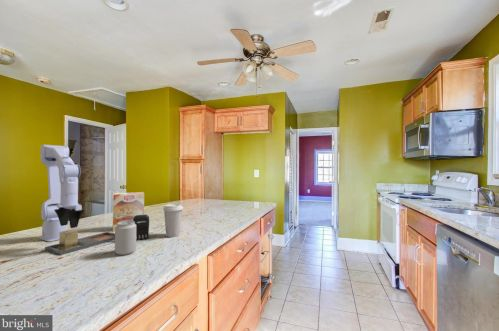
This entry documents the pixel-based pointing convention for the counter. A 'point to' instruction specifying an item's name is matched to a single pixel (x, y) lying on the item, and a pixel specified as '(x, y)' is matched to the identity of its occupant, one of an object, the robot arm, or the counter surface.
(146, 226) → the battery charger
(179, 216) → the coffee cup
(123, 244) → the can
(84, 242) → the gray rectangular frame
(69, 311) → the counter surface
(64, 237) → the brass block
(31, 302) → the counter surface
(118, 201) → the coffeecake box
